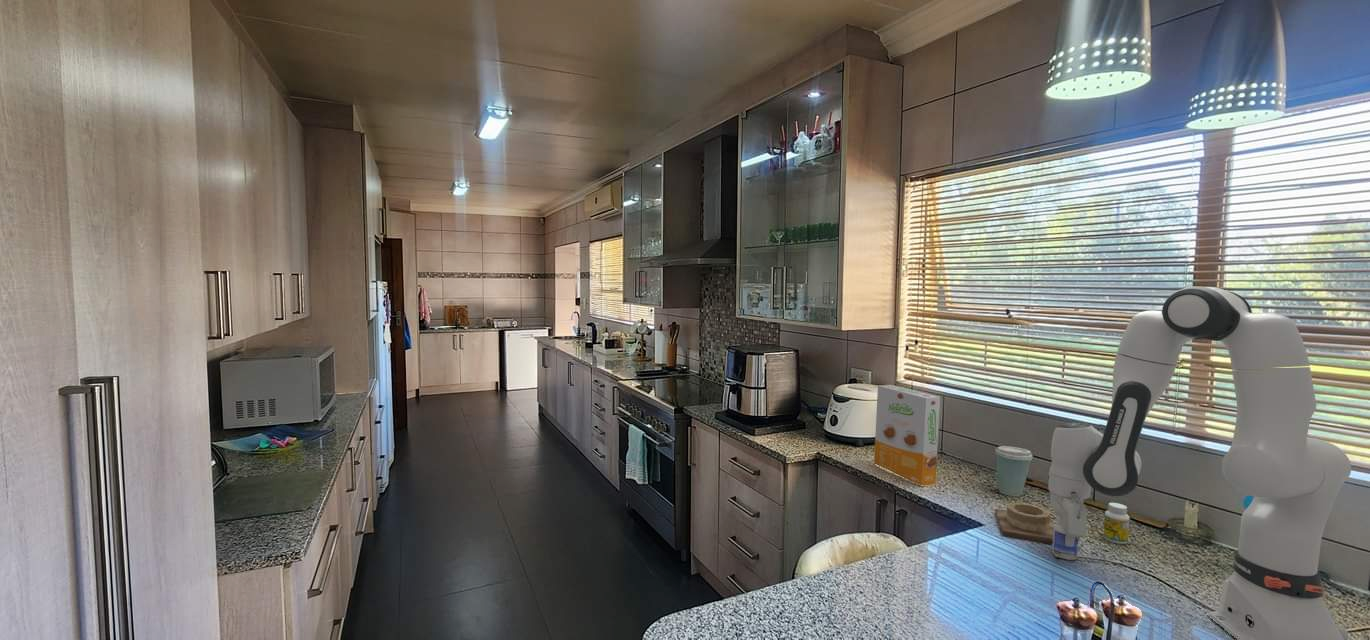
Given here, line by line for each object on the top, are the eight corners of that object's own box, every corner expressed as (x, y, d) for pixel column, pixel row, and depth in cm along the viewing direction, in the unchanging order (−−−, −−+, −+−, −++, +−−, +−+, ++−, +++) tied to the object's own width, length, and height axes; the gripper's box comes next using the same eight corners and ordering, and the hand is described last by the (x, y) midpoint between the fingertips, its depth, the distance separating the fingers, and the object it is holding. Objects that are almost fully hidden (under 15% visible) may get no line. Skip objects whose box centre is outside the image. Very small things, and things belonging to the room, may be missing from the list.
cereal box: (935, 484, 194) (940, 397, 191) (921, 487, 191) (926, 398, 189) (887, 464, 214) (891, 384, 212) (874, 466, 212) (877, 385, 209)
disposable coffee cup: (985, 487, 192) (988, 443, 191) (1017, 487, 193) (1020, 443, 192) (1004, 499, 182) (1007, 453, 181) (1037, 499, 182) (1040, 453, 181)
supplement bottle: (1132, 543, 153) (1135, 508, 152) (1118, 545, 151) (1121, 510, 150) (1112, 534, 158) (1115, 500, 157) (1098, 536, 156) (1100, 502, 156)
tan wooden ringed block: (1063, 545, 150) (1064, 525, 150) (1002, 535, 156) (1004, 516, 155) (1049, 522, 165) (1051, 503, 165) (995, 513, 170) (996, 495, 170)
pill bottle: (1081, 561, 142) (1084, 523, 141) (1057, 559, 143) (1059, 521, 142) (1071, 551, 147) (1074, 514, 147) (1047, 549, 148) (1050, 512, 148)
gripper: (1096, 503, 133) (1092, 560, 134) (1073, 475, 152) (1070, 526, 153) (1064, 498, 135) (1060, 555, 136) (1046, 471, 154) (1042, 521, 155)
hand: (1065, 539), depth 145 cm, fingers closed on pill bottle, 5 cm apart
